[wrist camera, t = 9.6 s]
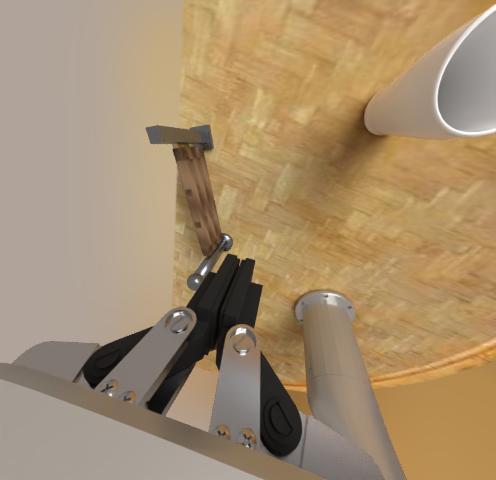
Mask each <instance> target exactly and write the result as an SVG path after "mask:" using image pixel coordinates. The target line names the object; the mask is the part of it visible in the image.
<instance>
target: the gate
mask: <svg viewBox="0 0 496 480" xmlns="http://www.w3.org/2000/svg"><path fill="white" fill-rule="evenodd" d="M173 152H174V156H175V159H176V163H177V166H178V170H179V173H180V177H181V180H182V184H183V187H184V190H185V194H186V197H187V201H188V204H189V208H190V211H191V214H192V218H193V221H194V225H195V228H196V232H197V235H198V238H199V242H200V245H201V249H202V252H203V256H210V255H211V254H212V253H213V251H214V250H215V249H216V247H217V246H218V244H219V243H220V242H221V240H222V239H223V237H222V233H221V228H220V224H219V219H218V215H217V210H216V206H215V201H214V197H213V192H212V188H211V183H210V179H209V174H208V170H207V165H206V161H205V156H204V152H203V147H181V148H175V149H173Z"/></svg>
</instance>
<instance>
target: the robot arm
mask: <svg viewBox="0 0 496 480" xmlns="http://www.w3.org/2000/svg"><path fill="white" fill-rule="evenodd" d="M239 263H240V259H238V258H237V256H236V255H232V254H227V256H226V258H225V259H224V261H223V263H222V264H221V266H220V268H219V270H218V271H217V273H213V272H209V273H208V274H207V276H206V277H205V279H204V280H203V282H202V283H201V285H200V286H199V288H198V289H197V291H196V293H195V294H194V296H193V297H192V299H191V300H190V302H189V303H188V305H187V306H186V307H179V308H175V309H173V310H171V311H169V312H168V313H167V314H165V315H164V317H163V318H162V319H161V320H160V321H159V322H158V323H157V324H156V325H155V326H153V327H150V328H147V329H145V330H142V331H140V332H137V333H134V334H132V335H129V336H127V337H124V338H121V339H119V340H116V341H113V342H111V343H109V344H106V345H104V346H100V345H99V344H97V343H78V342H55V341H50V342H43V343H41V344H38V345H35V346H34V347H32V348H30V349H28V350H26V351H25V352H24V353H23V354H22V355H20V356H19V357H18V358H17V359H16V360H15V361H14V362H13V363H12V364H8V363H0V480H407V479H406V477H405V474H404V472H403V470H402V467H401V464H400V462H399V460H398V457H397V455H396V452H395V450H394V447H393V445H392V442H391V440H390V437H389V434H388V431H387V429H386V426H385V424H384V420H383V417H382V415H381V412H380V409H379V406H378V403H377V400H376V397H375V394H374V391H373V388H372V385H371V382H370V379H369V376H368V373H367V370H366V367H365V364H364V361H363V358H362V355H361V352H360V349H359V346H358V343H357V340H356V337H355V334H354V331H353V328H352V325H351V324H352V322H353V321H354V319H355V309H354V306H353V304H352V303H351V301H350V300H349V299H348V298H347V297H345V296H343V295H342V294H339V293H337V292H333V291H327V290H318V291H313V292H310V293H307V294H305V295H303V296H302V297H301V298H300V299H299V300H298V301H297V303H296V305H295V314H296V317H297V319H298V321H299V322H300V323H301V324H302V325H303V337H304V353H305V369H306V385H307V397H308V403H309V407H310V410H311V412H312V414H313V416H314V417H312V416H311V415H308V416H307V415H305V414H304V413H302V412H300V411H299V410H298V409H297V407H296V405H295V404H294V402H293V401H292V399H291V397H290V396H289V394H288V393H287V391H286V390H285V388H284V386H283V385H282V383H281V382H280V380H279V379H278V377H277V375H276V374H275V372H274V371H273V369H272V368H271V366H270V364H269V363H268V361H267V360H266V358H265V356H264V355H263V353H262V352H261V350H260V337H259V335H258V333H257V332H256V331H255V329H254V326H255V321H256V316H257V311H258V306H259V301H260V296H261V292H262V287H263V285H260V284H256V283H252V282H251V280H252V275H253V270H254V265H255V260H253V259H249V258H246V260H242V261H241V264H240V266H239ZM216 343H217V353H216V365H217V367H218V370H219V377H218V383H217V388H216V394H215V400H214V405H213V410H212V416H211V422H210V427H209V433H208V432H205V431H203V430H200V429H198V428H195V427H192V426H190V425H187V424H184V423H182V422H179V421H176V420H173V419H171V418H168V417H166V414H167V412H168V410H169V409H170V407H171V405H172V403H173V402H174V400H175V399H176V397H177V395H178V394H179V392H180V390H181V389H182V387H183V385H184V383H185V381H186V380H187V378H188V377H189V375H190V373H191V372H192V370H193V368H194V366H195V364H196V362H197V361H199V360H201V359H203V357H204V354H205V355H208V353H209V351H210V349H213V350H214V348H215V346H216Z"/></svg>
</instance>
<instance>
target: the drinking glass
mask: <svg viewBox="0 0 496 480" xmlns="http://www.w3.org/2000/svg"><path fill="white" fill-rule="evenodd" d="M364 123H365V126H366V128H367V129H368V131H370V132H371V133H373V134H375V135H391V136H399V137H407V138H415V139H424V140H448V139H461V138H470V137H480V136H485V135H490V134H493V133H496V4H495V5H493V6H492V7H490V8H488V9H487V10H485V11H483V12H482V13H480V14H479V15H477V16H475V17H474V18H472V19H471V20H469V21H468V22H466V23H465V24H463V25H462V26H460V27H459V28H457V29H456V30H454V31H453V32H452V33H450V34H449V35H447V36H446V37H445V38H443V39H442V40H441V41H439V42H438V43H437V44H436V45H434V46H433V47H432V48H430V49H429V50H428V51H427V52H426V53H424V54H423V55H422V56H421V57H420V58H419V59H417V60H416V61H415V62H414V63H413V64H412V65H410V66H409V67H408V68H407V69H406V70H405V71H403V72H402V73H401V74H400V75H399V76H398V77H396V78H395V79H394V80H393V81H392V82H390V83H389V84H388V85H387V86H385V87H384V88H382V89H381V90H379V91H378V92H377V93H376V94H375V95H374V96H373V97H372V99H371V100H370V101H369V103H368V105H367V107H366V110H365V114H364Z"/></svg>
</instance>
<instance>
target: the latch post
mask: <svg viewBox="0 0 496 480" xmlns="http://www.w3.org/2000/svg"><path fill="white" fill-rule="evenodd" d="M146 131H147V133H148V137H149V140H150V143H151V144H172V145H173V149H175V148H181V147H189V144H194V147H203V149H209V148H214V146H213V140H212V135H211V129H210V125H204V126H198V127H192V128H190V130H187V129H180V128H173V127H165V126H158V125H157V126H152V127H147V128H146Z"/></svg>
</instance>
